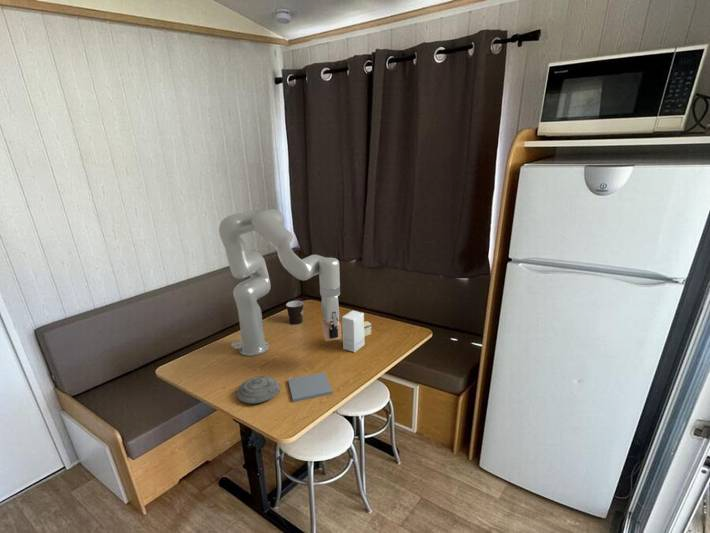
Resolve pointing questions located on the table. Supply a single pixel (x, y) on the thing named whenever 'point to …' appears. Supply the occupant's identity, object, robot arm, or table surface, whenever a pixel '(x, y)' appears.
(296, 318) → the coffee mug
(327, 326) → the terracotta cube
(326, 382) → the slate mat
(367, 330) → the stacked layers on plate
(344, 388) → the table surface
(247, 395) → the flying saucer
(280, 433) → the table surface
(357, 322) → the skincare box
